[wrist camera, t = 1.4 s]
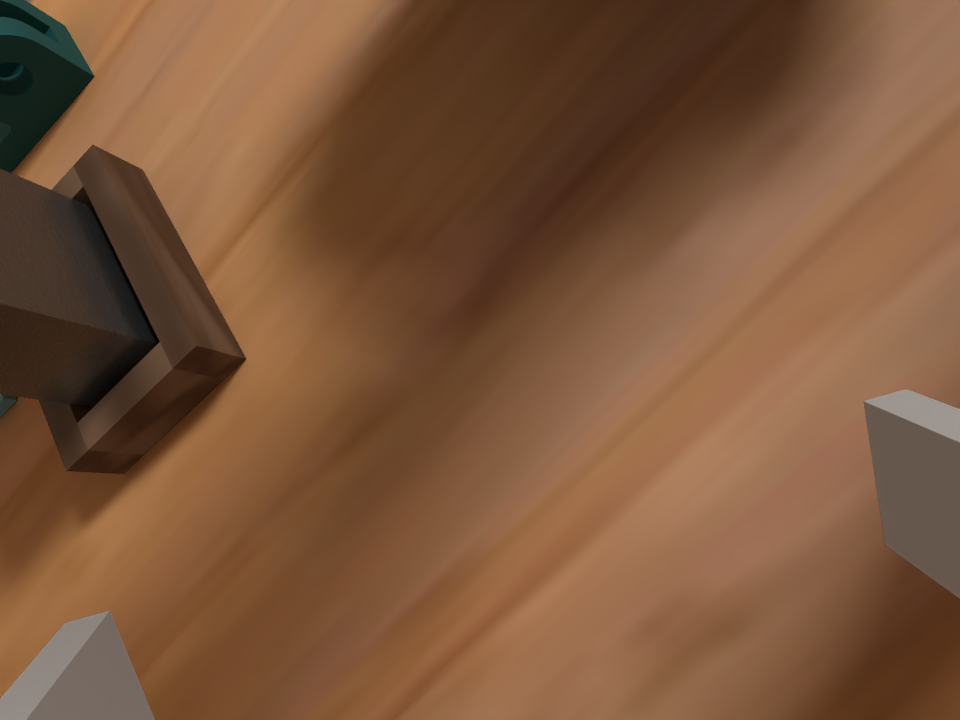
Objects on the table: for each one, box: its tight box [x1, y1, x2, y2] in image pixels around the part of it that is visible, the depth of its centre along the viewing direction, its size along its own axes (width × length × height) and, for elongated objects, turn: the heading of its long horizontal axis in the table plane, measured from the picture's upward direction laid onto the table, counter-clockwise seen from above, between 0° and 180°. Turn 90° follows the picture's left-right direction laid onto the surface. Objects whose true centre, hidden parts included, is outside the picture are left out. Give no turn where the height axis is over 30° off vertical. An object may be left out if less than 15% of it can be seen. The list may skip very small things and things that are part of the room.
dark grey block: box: [0, 169, 160, 407], centre depth 43 cm, size 6×12×14 cm, turn 35°
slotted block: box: [39, 145, 246, 474], centre depth 47 cm, size 12×18×4 cm, turn 35°
